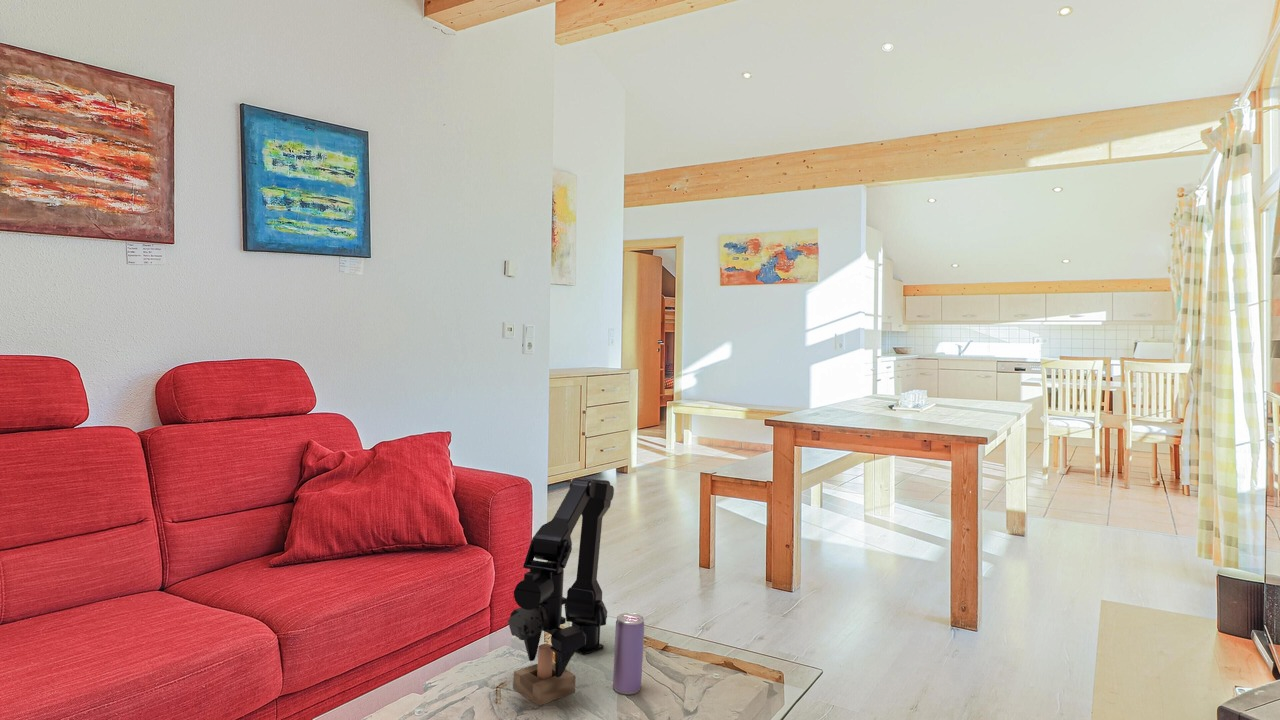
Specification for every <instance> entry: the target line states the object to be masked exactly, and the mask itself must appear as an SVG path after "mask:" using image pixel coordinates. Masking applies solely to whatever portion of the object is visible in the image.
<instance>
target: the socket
mask: <svg viewBox="0 0 1280 720" xmlns="http://www.w3.org/2000/svg"><path fill="white" fill-rule="evenodd" d="M537 668H538V663H535V664H532V665H530V666H527V667H523V668H520V669H518V670H517V669H516V670H514V671H513V682H512V683H513V684H512V686H513V687H512V689H513V690H515V691H516V692H518V693H520V694H521V695H523V696H524V697H526V698H527V699H528V700H530V701H531V702H533V703H535V704H536V705H537V706H541V705H545V704H547V703H550V702H552V701H555V700H557V699H560V698H563V697H566V696H568V695H571V694H573V693H575V691H576V674H575V673H573V672H571V671H569V670H567V669H566V668H565V670H564V672H563V674H562V676H561V677H556V671H555V661H553V662H552V677H551V678H548V679H545V680H543V681H542V680H541V679H539V678H537Z"/></svg>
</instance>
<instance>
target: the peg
mask: <svg viewBox="0 0 1280 720" xmlns="http://www.w3.org/2000/svg"><path fill="white" fill-rule="evenodd" d="M550 647H552V644H551V643H550V644H549V643H542V644H539V645H538V650H537V664H538V668H537V678H539V679H541V680H542V681H543V680H545V679H548V678H551V677H552V662H554V660H553V659H554V658H553V657H554V656H553V655H554V652H553V651H552V650H551V649H550Z"/></svg>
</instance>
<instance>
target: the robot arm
mask: <svg viewBox="0 0 1280 720" xmlns="http://www.w3.org/2000/svg"><path fill="white" fill-rule="evenodd" d="M614 493H615V488H614V486H613V485H611V482H610V481H609V480H606V479H596V478H587V477H584V478H574V479H573V478H572V479H571V481H570V483H569V489H568V491H567V492H566V494H565V496H564V498H563V500H562V501H561V503H560V505H559V506H558V509H557V510H556V513H555V515H554V516H553V517H552V519H551V520H550V521H547V522H546V523H544V524H542V525H541V526H540V528H539V529H538V530H537V532H536V533H535V535H533V537H532V538H531V540H530V544H529V546H528V551H527V553H526V556H525V560H524V562H523V565H522V566H523V567H522V568H523V569H525V570H529V571H527V572H525V573H524V576H523V579H522V580H521V581H519V582H518V583H517V584H516V585H515V588H514V590H513V597H514V601H515V603H516V604H517V605H518V607H519V608H514V609H513V610H512V612H511V613H510V616H509V618H508V619H507V623H508V626H509V630H510V634H511V636H515V637H516V638H518V640H520V641H523V642H524V645H525V650H526V653H527V656H528V657H527V658H528V660H529V662H533V661H535V660H536V656H537V655H538V648H539V646H540V641H541V635H542V632H546V633H547V634H549V635H551V636H550V645H552V647H550V649H551V650H552V651H553V654H554V655H555V656H554V659H555V660H554V663H555V671H556V677H561V676H562V674H563V672H564V670H565V669H566V668H567V666H568V664H569V662H570V661H571V659H572V657H573V655H574V654H575V652H577V653H579V654H580V655H583V656H584V655H587V654H590V653H593V652H595V651H599V650H602V649H604V648H605V647H604V644H602V643H600V639H601V637H600V636H601V635H600V634H601V627H602V626H606V625H607V619H608V610H607V608H606V605H605V603H604V602H603V590H602V589H601V586H600V584H599V582H598V580H597V579H598V568H599V558H600V556H599V555H600V550H601V549H600V546H601V537H602V526H603V517H604V516H605V515H606V513H607V512H608V510H609V509H610V508H611V505H612V504H611V503H612V501H613V498H614V495H615V494H614ZM580 518H581V519H582V520H581V530H580V538H579V549H578V559H577V560H578V561H577V571H576V579H575V581H574V583H573V584H572V585H571V586H570V587H569V588H568V589H567V593H566V597H564V595H563V593H564V592H563V590H564V575H565V573H564V571H565V570H564V569H566V566H567V563H568V562H569V558H570V556H571V554H572V550H573V549H572V545H573V542H572V537H571V536H572V533H573V531H574V529H575V527H576V525H577V523H578V521H579V519H580ZM542 560H543V561H542ZM563 605H564V613H565V617H564V616H563V615H562V613H563V612H562V611H563V610H562V609H563ZM566 622H567V623H571V626H568V627H567V626H566V627H563V628H562V627H561V625H564V624H566Z"/></svg>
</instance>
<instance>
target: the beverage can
mask: <svg viewBox="0 0 1280 720" xmlns="http://www.w3.org/2000/svg"><path fill="white" fill-rule="evenodd" d="M644 619H645V618H644V616H643V615H641V614H639V613H636V612H635V613H634V612H623V613H621V614H618V615H617V616H616V621H615V631H614V632H615V635H614V651H613V652H614V653H613V654H614V655H613V674H612V687H613V689H614V691H615V692H617V693H619V694H621V695H625V696H627V695H629V696H630V695H634V694H637V693H638V692H639V691H640V689H642V678H643V660H644V641H645V639H644V638H645V620H644Z"/></svg>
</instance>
